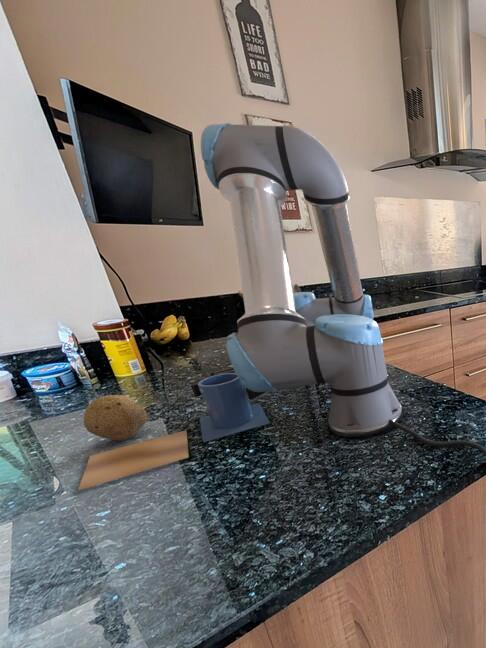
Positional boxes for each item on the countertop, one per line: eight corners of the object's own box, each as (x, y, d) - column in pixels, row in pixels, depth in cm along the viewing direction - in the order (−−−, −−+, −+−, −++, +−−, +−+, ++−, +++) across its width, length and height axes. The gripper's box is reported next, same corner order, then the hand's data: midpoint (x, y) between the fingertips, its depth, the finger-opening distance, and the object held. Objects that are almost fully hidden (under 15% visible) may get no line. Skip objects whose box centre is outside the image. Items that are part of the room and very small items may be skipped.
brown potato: (81, 452, 78) (57, 407, 74) (119, 430, 86) (98, 388, 82) (129, 449, 79) (107, 404, 75) (162, 427, 87) (144, 386, 83)
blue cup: (255, 421, 87) (242, 379, 83) (214, 432, 83) (198, 389, 79) (251, 409, 93) (238, 370, 89) (212, 419, 89) (197, 379, 85)
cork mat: (189, 458, 75) (188, 457, 74) (78, 492, 66) (77, 490, 66) (187, 431, 85) (186, 429, 85) (90, 457, 76) (89, 455, 76)
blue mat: (270, 424, 86) (269, 423, 86) (203, 443, 80) (203, 442, 79) (259, 404, 97) (259, 402, 96) (200, 419, 90) (199, 418, 90)
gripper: (334, 374, 103) (276, 410, 84) (251, 371, 107) (178, 405, 88) (328, 347, 100) (267, 378, 81) (243, 345, 104) (166, 374, 85)
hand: (221, 392), depth 84 cm, fingers open, 13 cm apart
